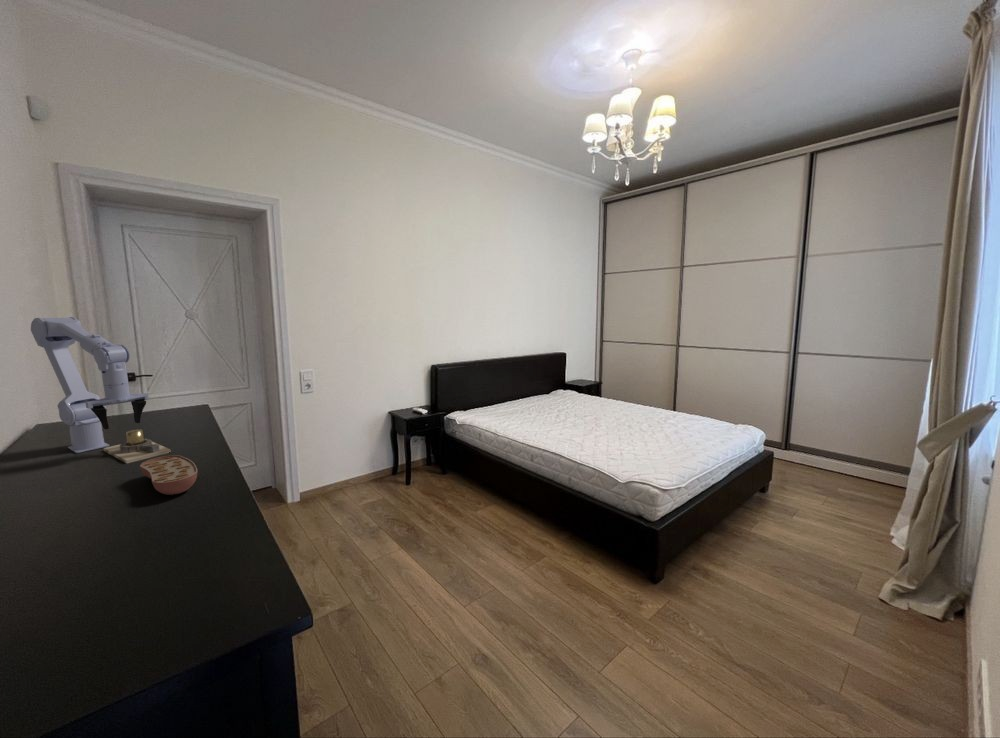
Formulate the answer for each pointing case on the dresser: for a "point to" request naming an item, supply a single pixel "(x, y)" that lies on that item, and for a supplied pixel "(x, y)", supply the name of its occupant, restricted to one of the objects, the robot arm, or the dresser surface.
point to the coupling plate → (136, 451)
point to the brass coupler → (135, 437)
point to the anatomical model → (170, 473)
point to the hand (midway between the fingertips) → (122, 425)
